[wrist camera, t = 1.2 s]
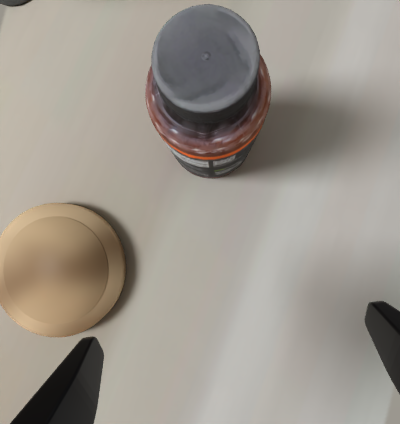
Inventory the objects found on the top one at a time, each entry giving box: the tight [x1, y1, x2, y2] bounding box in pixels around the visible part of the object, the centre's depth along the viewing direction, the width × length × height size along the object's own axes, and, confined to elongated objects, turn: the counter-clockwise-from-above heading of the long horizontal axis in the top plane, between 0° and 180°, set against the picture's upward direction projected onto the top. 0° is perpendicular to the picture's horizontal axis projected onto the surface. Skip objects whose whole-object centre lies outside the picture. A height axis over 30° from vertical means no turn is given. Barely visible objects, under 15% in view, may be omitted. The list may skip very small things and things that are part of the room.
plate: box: [0, 203, 126, 337], centre depth 21 cm, size 10×10×1 cm
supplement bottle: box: [146, 4, 271, 178], centre depth 15 cm, size 6×6×11 cm
